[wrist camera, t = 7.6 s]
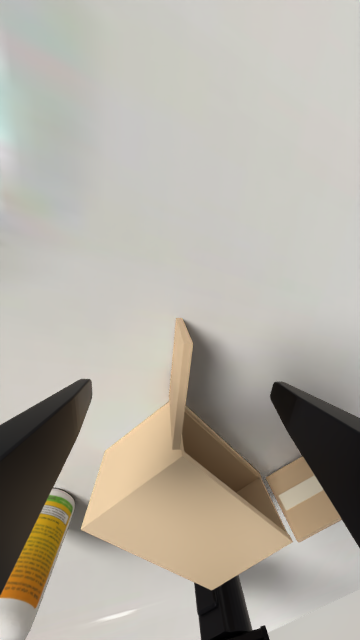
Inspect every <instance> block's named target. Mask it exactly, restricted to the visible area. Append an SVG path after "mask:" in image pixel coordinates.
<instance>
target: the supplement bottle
mask: <svg viewBox="0 0 360 640" xmlns="http://www.w3.org/2000/svg"><path fill="white" fill-rule="evenodd" d="M74 509H75V502H74V500H73V498H72V497H71V496H70V495H69V494H68V493H66V492H64V491H62V490H59V489H52V490H51V493H50V495H49V497H48V499H47V501H46V503H45V505H44V507H43V509H42V511H41V513H40V515H39V517H38V519H37V521H36V523H35V525H34V528H33V530H32V532H31V534H30V536H29V538H28V540H27V542H26V544H25V546H24V548H23V550H22V552H21V554H20V556H19V558H18V560H17V563H16V565H15V567H14V569H13V571H12V573H11V575H10V577H9V579H8V581H7V583H6V585H5V587H4V589H3V591H2V593H1V595H0V640H25V638H26V637H27V635H28V633H29V631H30V629H31V627H32V624H33V622H34V619H35V617H36V614H37V612H38V609H39V606H40V603H41V601H42V598H43V595H44V592H45V590H46V587H47V584H48V581H49V579H50V576H51V573H52V570H53V568H54V565H55V562H56V559H57V557H58V554H59V551H60V548H61V546H62V543H63V540H64V538H65V535H66V532H67V529H68V527H69V524H70V521H71V518H72V515H73V512H74Z"/></svg>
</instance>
